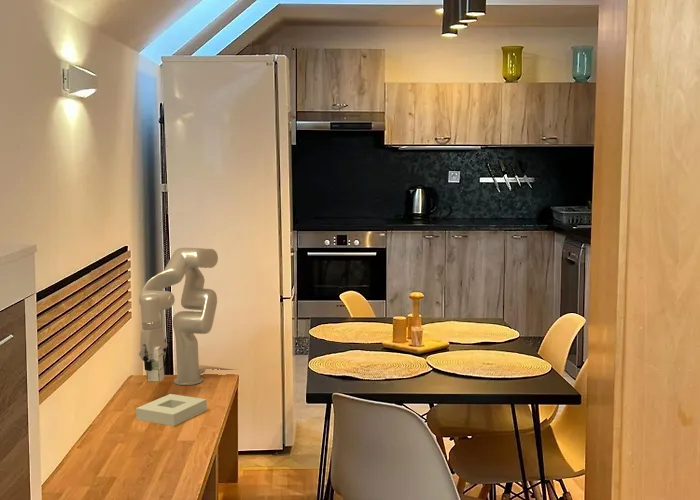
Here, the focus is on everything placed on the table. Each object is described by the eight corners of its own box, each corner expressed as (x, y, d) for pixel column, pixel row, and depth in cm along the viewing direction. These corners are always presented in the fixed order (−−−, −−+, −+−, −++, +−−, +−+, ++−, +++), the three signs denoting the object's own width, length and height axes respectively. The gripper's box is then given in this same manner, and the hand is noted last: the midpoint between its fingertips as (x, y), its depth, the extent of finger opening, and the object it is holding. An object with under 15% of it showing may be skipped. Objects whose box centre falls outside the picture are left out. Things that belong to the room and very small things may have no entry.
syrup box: (164, 377, 334) (162, 343, 332) (160, 382, 328) (157, 347, 326) (151, 377, 335) (148, 343, 332) (146, 382, 329) (143, 347, 327)
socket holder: (170, 404, 328) (170, 393, 327) (206, 410, 320) (206, 399, 319) (136, 419, 310) (136, 408, 310) (173, 426, 302) (173, 414, 302)
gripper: (158, 319, 337) (161, 360, 340) (129, 329, 322) (132, 372, 325) (173, 321, 334) (175, 362, 337) (144, 331, 319) (147, 375, 321)
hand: (154, 367), depth 331 cm, fingers closed on syrup box, 7 cm apart
